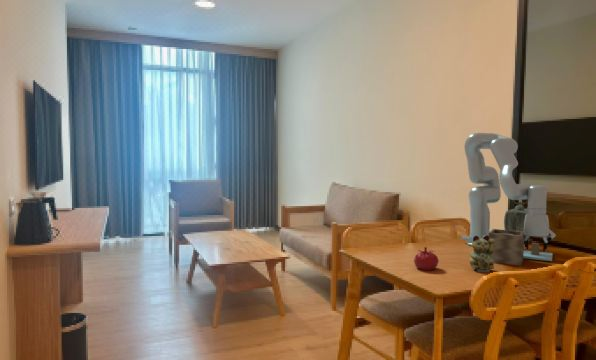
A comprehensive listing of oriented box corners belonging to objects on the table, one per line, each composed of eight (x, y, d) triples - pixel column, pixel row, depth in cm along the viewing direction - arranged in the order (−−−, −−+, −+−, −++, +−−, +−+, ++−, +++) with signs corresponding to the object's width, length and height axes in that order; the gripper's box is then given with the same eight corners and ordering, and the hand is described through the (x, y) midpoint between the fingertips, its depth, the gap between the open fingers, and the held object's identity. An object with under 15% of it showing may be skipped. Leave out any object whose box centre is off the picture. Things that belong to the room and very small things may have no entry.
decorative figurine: (473, 272, 168) (474, 236, 167) (465, 267, 176) (465, 232, 176) (497, 272, 168) (498, 236, 167) (487, 267, 176) (488, 232, 176)
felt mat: (522, 258, 192) (522, 257, 192) (524, 254, 200) (524, 252, 200) (547, 261, 186) (547, 259, 186) (548, 256, 195) (548, 255, 195)
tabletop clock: (535, 241, 229) (536, 197, 228) (531, 244, 223) (532, 198, 221) (507, 238, 239) (508, 195, 238) (502, 241, 232) (503, 196, 231)
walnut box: (488, 261, 186) (488, 233, 185) (492, 255, 197) (493, 228, 196) (520, 265, 179) (521, 235, 178) (523, 259, 190) (524, 231, 189)
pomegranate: (443, 269, 173) (444, 248, 173) (427, 273, 168) (428, 250, 167) (424, 264, 182) (425, 243, 181) (408, 267, 176) (409, 245, 176)
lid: (517, 257, 191) (517, 244, 191) (520, 251, 202) (520, 239, 202) (551, 261, 184) (552, 247, 183) (552, 255, 195) (552, 242, 195)
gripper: (515, 211, 193) (514, 249, 194) (558, 214, 184) (557, 253, 185) (516, 209, 200) (515, 246, 201) (558, 212, 190) (557, 250, 191)
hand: (535, 249), depth 193 cm, fingers open, 6 cm apart
